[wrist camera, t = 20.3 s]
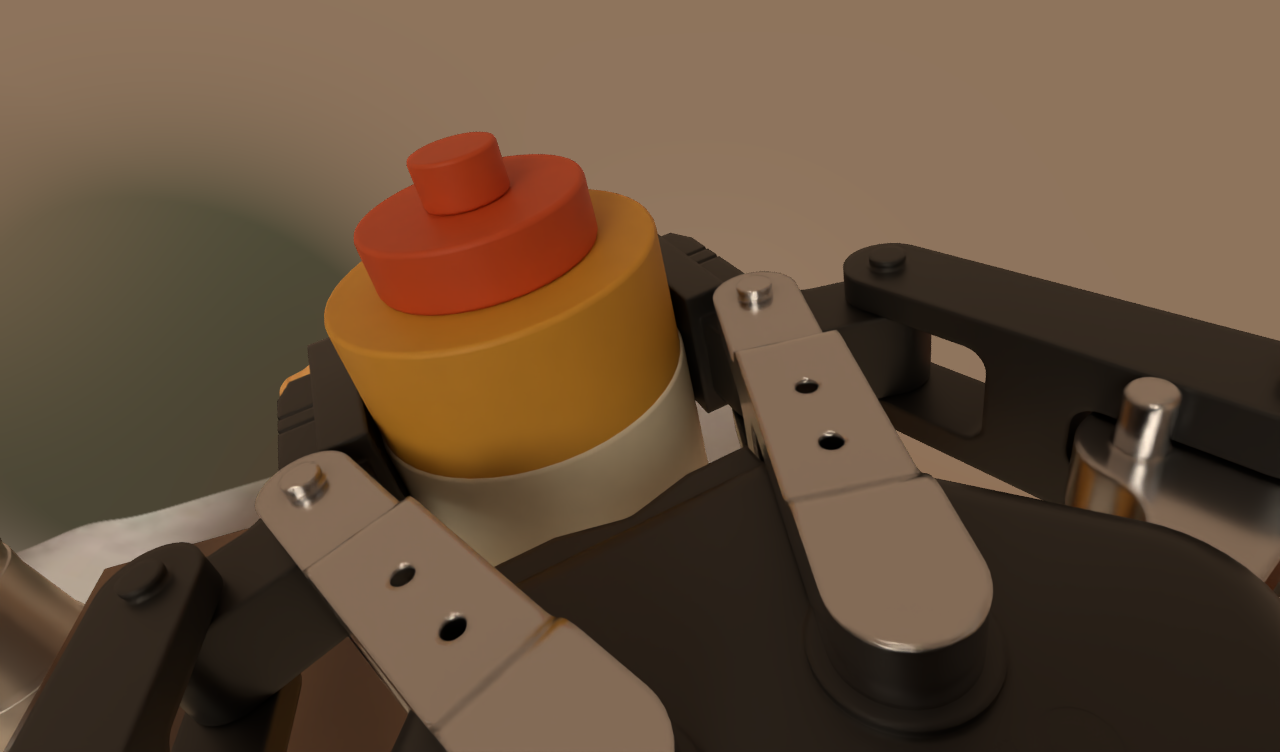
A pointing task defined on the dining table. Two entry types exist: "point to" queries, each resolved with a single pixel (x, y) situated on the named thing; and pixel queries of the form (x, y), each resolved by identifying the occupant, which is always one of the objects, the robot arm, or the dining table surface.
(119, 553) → the dining table surface
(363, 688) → the cabinet
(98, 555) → the dining table surface
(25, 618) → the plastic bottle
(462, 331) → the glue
